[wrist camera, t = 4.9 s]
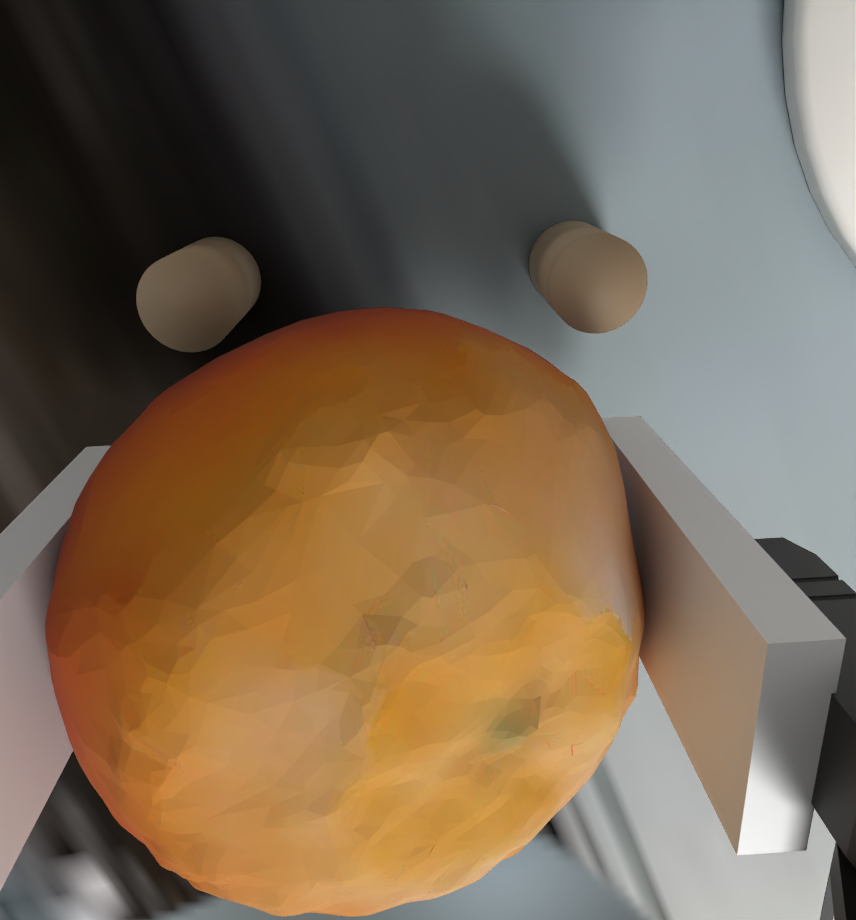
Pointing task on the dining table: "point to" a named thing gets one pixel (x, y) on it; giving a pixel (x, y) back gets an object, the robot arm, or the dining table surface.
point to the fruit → (349, 612)
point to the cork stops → (239, 282)
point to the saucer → (824, 106)
